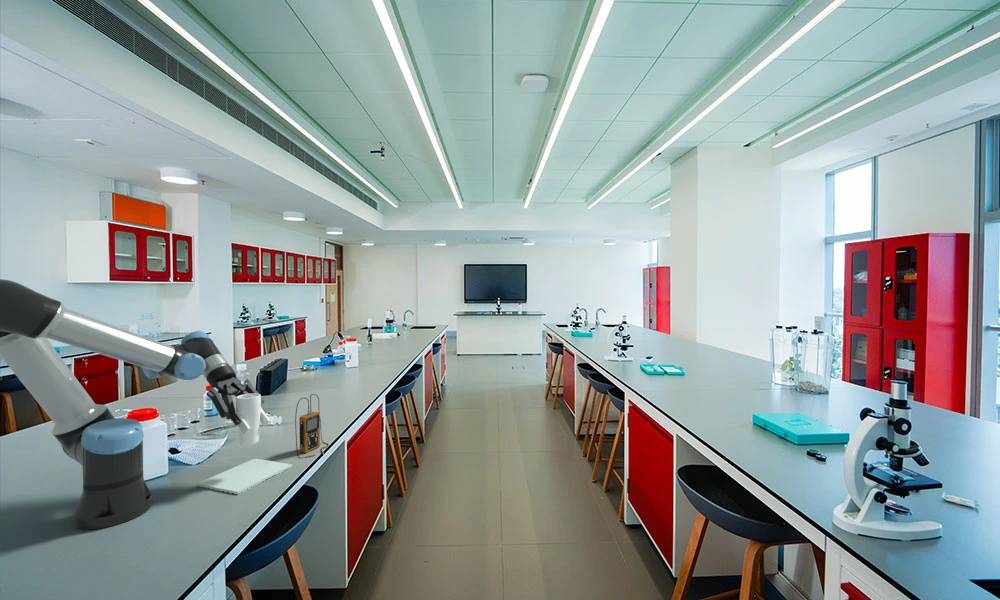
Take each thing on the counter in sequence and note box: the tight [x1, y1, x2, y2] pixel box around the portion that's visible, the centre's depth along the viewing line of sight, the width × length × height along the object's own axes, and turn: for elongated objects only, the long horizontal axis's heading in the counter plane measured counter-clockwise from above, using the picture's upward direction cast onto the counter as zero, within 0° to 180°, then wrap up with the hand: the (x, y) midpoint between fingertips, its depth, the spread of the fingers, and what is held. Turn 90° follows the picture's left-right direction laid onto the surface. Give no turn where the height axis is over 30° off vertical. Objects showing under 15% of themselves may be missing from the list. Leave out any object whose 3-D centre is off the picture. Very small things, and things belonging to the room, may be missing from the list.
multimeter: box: [294, 393, 329, 459], centre depth 154 cm, size 15×10×20 cm
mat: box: [196, 458, 293, 495], centre depth 133 cm, size 20×16×1 cm
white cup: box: [235, 393, 262, 447], centre depth 133 cm, size 7×7×15 cm
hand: (257, 427), depth 132 cm, fingers closed on white cup, 7 cm apart
